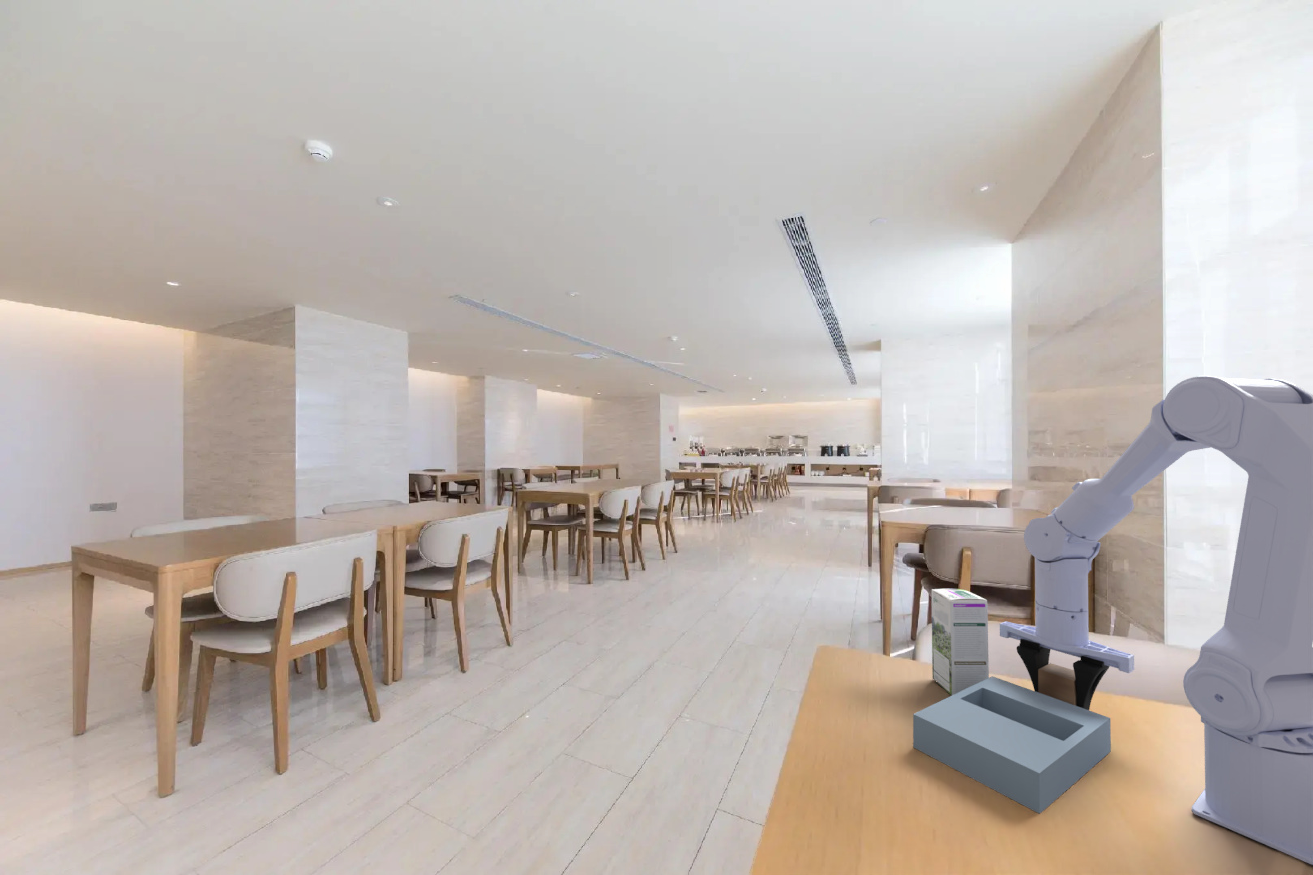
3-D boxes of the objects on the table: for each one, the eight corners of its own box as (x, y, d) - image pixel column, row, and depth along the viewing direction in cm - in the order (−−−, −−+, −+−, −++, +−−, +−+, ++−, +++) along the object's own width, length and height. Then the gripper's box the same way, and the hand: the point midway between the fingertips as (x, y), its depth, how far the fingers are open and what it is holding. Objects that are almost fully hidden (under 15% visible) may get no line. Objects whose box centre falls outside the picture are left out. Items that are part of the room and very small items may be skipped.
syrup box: (991, 698, 73) (990, 598, 73) (950, 697, 73) (950, 598, 74) (967, 680, 79) (967, 588, 79) (930, 679, 79) (929, 587, 79)
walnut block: (1085, 718, 68) (1085, 673, 68) (1074, 726, 66) (1073, 680, 66) (1050, 705, 71) (1050, 663, 71) (1038, 712, 69) (1038, 669, 69)
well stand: (1110, 751, 60) (1110, 717, 60) (1039, 813, 50) (1039, 773, 50) (992, 704, 71) (992, 676, 71) (913, 747, 61) (913, 713, 61)
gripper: (1141, 616, 65) (1142, 721, 64) (1014, 589, 77) (1015, 677, 77) (1123, 625, 61) (1124, 737, 61) (992, 595, 73) (993, 688, 73)
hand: (1061, 705), depth 68 cm, fingers closed on walnut block, 4 cm apart
